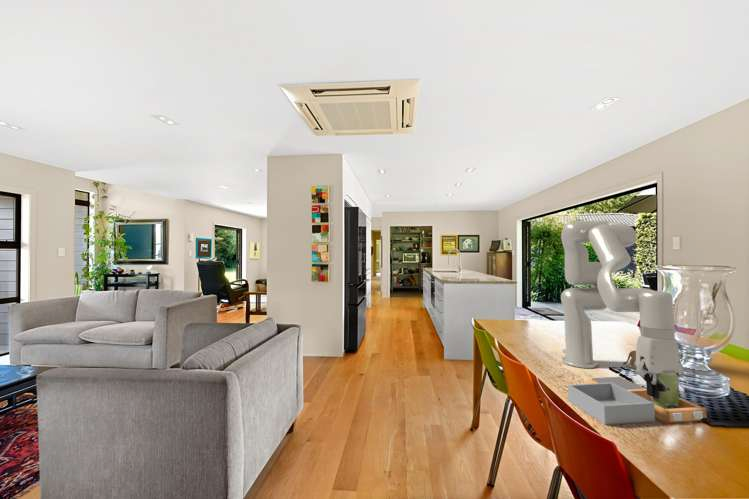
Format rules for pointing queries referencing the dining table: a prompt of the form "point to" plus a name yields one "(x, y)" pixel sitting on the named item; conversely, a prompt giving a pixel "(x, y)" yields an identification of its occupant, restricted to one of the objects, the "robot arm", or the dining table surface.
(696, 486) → the dining table surface
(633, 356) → the lion figurine
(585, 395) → the parts bin
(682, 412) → the case
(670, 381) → the beverage can
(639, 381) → the hard drive
